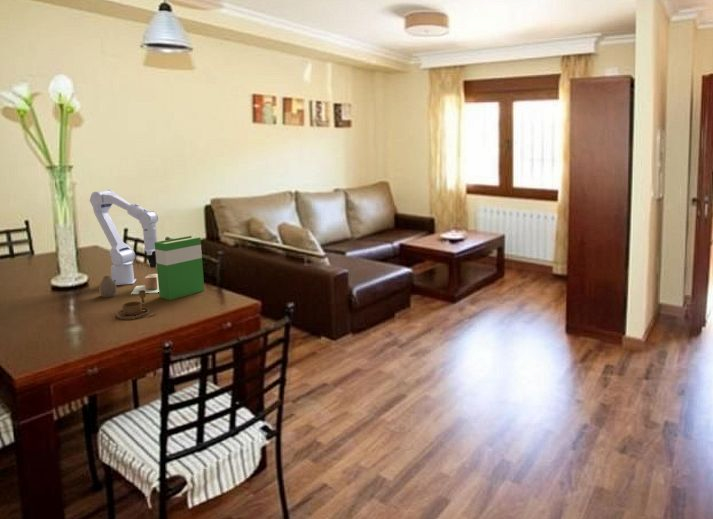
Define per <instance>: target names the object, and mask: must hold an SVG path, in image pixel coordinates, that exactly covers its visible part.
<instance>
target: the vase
mask: <svg viewBox="0 0 713 519" xmlns="http://www.w3.org/2000/svg"><path fill="white" fill-rule="evenodd" d="M117 289H118V288H117V285H116V284H115V282H114V281H113V280H112V277H111V275H105V276H103V277H102V280H101V281H100V282H99V287H98V290H99V294H100V295H101V296H102V297H103V298H111V297H114V296H115V295H116V293H117Z"/></svg>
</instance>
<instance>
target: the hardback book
mask: <svg viewBox="0 0 713 519" xmlns="http://www.w3.org/2000/svg"><path fill="white" fill-rule="evenodd" d="M201 240H202V239H201V237H194V238H193V237H192V235H188V236H182V237H175V238H172V239H171V238H170V239H165V240H159V241H158V242H155V253H156V270H157V271H156V274H158V285H159V293H158V294H159V298H161V297H162V298H161V299H164V298H166V299H165V300H168V299H169V300H168V301H171V299H172V300H176V299H179V298H178V297H180V298H183V297H187V296H189V295H194V294H197V292H198V293H200V292H205V281H204V280H205V279H204V278H205V277H204V268H203V267H204V266H203V254H202V241H201ZM186 295H187V296H186ZM182 296H183V297H182ZM175 298H176V299H175Z"/></svg>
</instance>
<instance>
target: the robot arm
mask: <svg viewBox="0 0 713 519" xmlns="http://www.w3.org/2000/svg"><path fill="white" fill-rule="evenodd" d="M89 202H90V204H91V206H92V209H93V213H94V216H95V218H96V219H97V222H98V223H99V226H100V228H101V229H102V231H103V233H104V234H105V237H106V239H107V241H108V243H109V244H110V246H111V248H110V250H109V256H110V259H111V262H112V265H111V266H110V278H111V279H112V280H113V281H114V282H115V284H116V286H120V285H121V286H122V285H134V284H135V282H136V281H137V278H135V275H134V273H135V272H134V265H133V264H134V260H135V259H136V253H135V251H134V249H132V248H131V246H130V245H129V244H127V243H125V242H124V240H123V238H122V237H121V235H120V233H119V231H118V229H117V228H116V227H117V226H115V223H114V221H113V219H112V218H111V216H110V214H109V211H110V209H111V208H112V206H113V205H115V206H117V207H118V208H122V209H123V210H124V211H125V210H126V212H127V215H129V216H131V217H133V218H134V219H136V220H138V222H139V224H140V225H141V228H142V234H143V235H142V236H143V244H144V251H145V252H144V255H145V257H146V258H147V261H148V264H149V266H150V267H149V268H152V269H153V268H157V263H156V253H155V242H159V241H158V232H157V222H158V221H159V217H158V213H156V212H155V211H154V210H148V209H147V208H144V207H142V206H140V204H139V203H130V202H129V201H127V200H126V199H124V198H123V197H121V196H120V195H118V194H117V192H115V191H113V190H111V189H107V190H101V191H94V192H92V193H91V194H90V198H89Z"/></svg>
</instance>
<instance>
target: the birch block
mask: <svg viewBox="0 0 713 519" xmlns="http://www.w3.org/2000/svg"><path fill="white" fill-rule="evenodd" d="M144 285H145V289H157V288H158V287H159V285H158V274H157V273H148V274H147V275H146V276H145V277H144Z"/></svg>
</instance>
